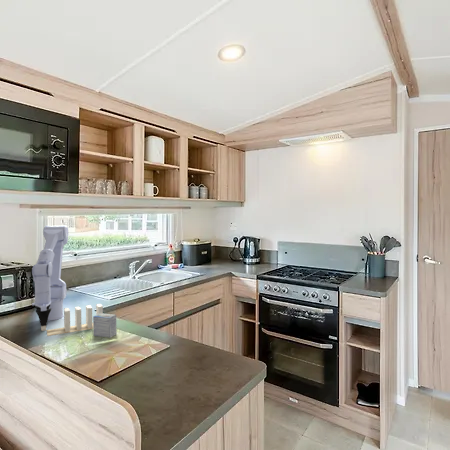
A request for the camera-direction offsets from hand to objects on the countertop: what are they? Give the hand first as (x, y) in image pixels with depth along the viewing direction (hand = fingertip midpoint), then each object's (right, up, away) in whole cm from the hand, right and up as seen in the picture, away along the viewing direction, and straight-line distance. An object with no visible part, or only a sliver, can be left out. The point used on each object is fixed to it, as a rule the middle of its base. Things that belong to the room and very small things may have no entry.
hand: (43, 323), depth 141 cm
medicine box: (+28, -3, -7) cm, 30 cm away
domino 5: (+22, -2, +5) cm, 22 cm away
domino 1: (0, -3, 0) cm, 3 cm away
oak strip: (+14, -3, +1) cm, 15 cm away
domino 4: (+18, -2, +3) cm, 18 cm away
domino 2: (+11, -2, -1) cm, 11 cm away
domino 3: (+14, -2, +1) cm, 15 cm away
